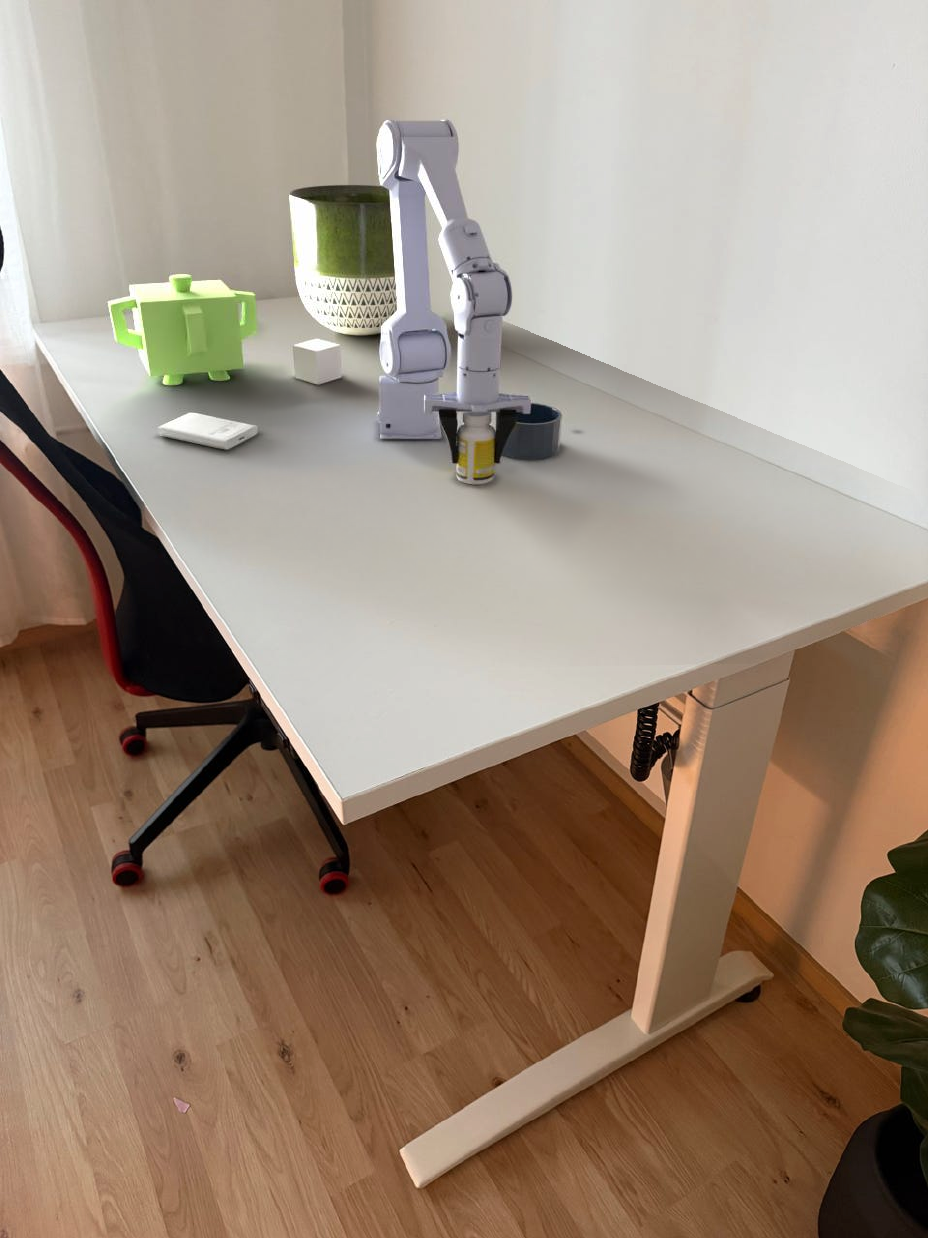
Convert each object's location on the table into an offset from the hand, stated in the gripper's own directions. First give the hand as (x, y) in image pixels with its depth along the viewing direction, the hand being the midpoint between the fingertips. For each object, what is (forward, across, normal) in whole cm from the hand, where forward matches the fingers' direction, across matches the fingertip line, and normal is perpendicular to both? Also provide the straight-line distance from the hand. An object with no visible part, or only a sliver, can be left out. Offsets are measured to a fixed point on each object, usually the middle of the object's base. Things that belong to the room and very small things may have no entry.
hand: (475, 461), depth 134 cm
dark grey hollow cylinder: (+3, +9, +12) cm, 15 cm away
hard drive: (+3, -40, +17) cm, 44 cm away
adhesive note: (+3, -25, +47) cm, 53 cm away
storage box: (+3, -48, +49) cm, 69 cm away
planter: (+3, -18, +80) cm, 82 cm away
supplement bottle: (+3, 0, 0) cm, 3 cm away
